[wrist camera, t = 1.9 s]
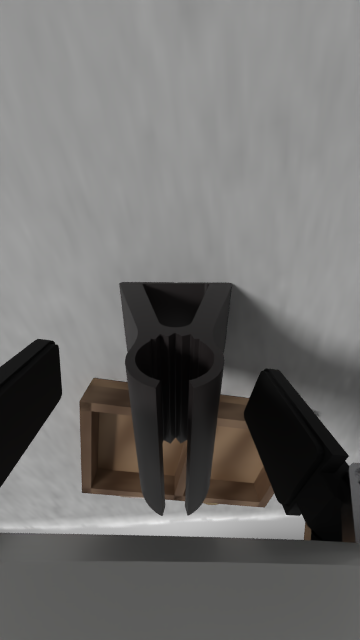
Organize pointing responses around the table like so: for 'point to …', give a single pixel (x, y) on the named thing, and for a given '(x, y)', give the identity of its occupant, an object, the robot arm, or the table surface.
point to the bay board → (166, 451)
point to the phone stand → (175, 378)
